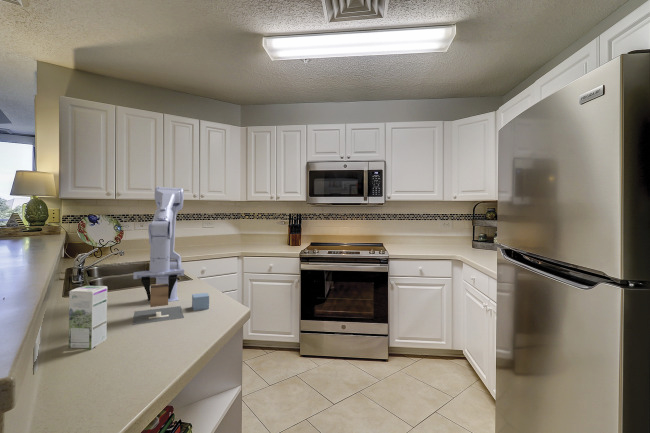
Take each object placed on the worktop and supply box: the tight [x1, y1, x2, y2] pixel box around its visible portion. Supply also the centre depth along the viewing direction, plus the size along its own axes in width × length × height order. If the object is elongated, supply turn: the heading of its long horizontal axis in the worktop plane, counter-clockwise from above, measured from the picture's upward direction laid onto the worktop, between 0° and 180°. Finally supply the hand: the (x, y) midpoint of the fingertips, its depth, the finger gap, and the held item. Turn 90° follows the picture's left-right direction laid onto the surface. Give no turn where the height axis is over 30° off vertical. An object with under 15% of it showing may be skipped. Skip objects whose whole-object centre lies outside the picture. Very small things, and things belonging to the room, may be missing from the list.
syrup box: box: [68, 285, 108, 350], centre depth 77 cm, size 6×6×14 cm
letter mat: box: [132, 305, 185, 326], centre depth 99 cm, size 14×14×1 cm
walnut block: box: [149, 283, 169, 308], centre depth 99 cm, size 5×5×6 cm
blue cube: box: [191, 292, 210, 312], centre depth 108 cm, size 5×5×5 cm
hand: (159, 298), depth 99 cm, fingers closed on walnut block, 5 cm apart
